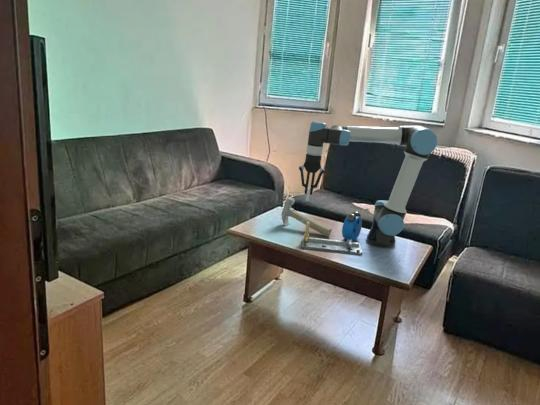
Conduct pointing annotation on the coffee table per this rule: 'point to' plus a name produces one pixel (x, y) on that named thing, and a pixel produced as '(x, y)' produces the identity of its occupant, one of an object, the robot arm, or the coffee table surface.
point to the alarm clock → (352, 226)
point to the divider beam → (335, 242)
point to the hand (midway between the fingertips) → (307, 200)
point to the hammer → (302, 218)
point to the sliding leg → (306, 233)
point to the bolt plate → (331, 247)
